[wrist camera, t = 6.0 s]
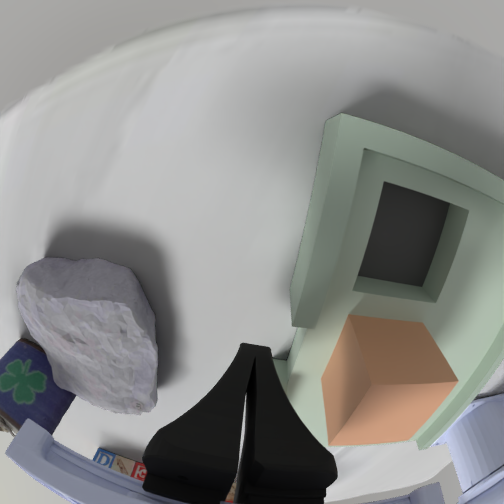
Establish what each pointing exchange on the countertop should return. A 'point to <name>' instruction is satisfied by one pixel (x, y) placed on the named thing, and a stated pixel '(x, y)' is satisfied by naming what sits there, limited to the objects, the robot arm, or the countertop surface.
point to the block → (383, 381)
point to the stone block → (93, 330)
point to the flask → (30, 389)
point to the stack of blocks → (134, 468)
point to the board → (397, 262)
